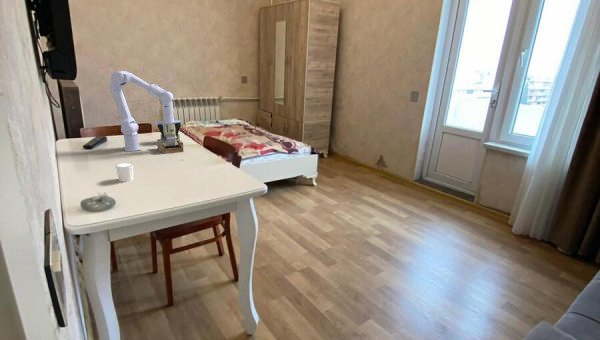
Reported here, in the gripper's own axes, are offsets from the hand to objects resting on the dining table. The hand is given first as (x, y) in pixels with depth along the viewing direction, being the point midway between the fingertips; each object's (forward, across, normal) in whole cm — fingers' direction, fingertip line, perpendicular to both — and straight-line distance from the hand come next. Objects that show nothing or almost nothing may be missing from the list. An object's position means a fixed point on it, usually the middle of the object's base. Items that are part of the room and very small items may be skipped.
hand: (169, 136), depth 190 cm
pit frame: (+8, 0, 0) cm, 8 cm away
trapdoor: (+4, 0, -3) cm, 5 cm away
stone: (+4, 0, 0) cm, 4 cm away
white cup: (+9, +29, +40) cm, 50 cm away
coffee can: (+9, -5, -19) cm, 21 cm away
